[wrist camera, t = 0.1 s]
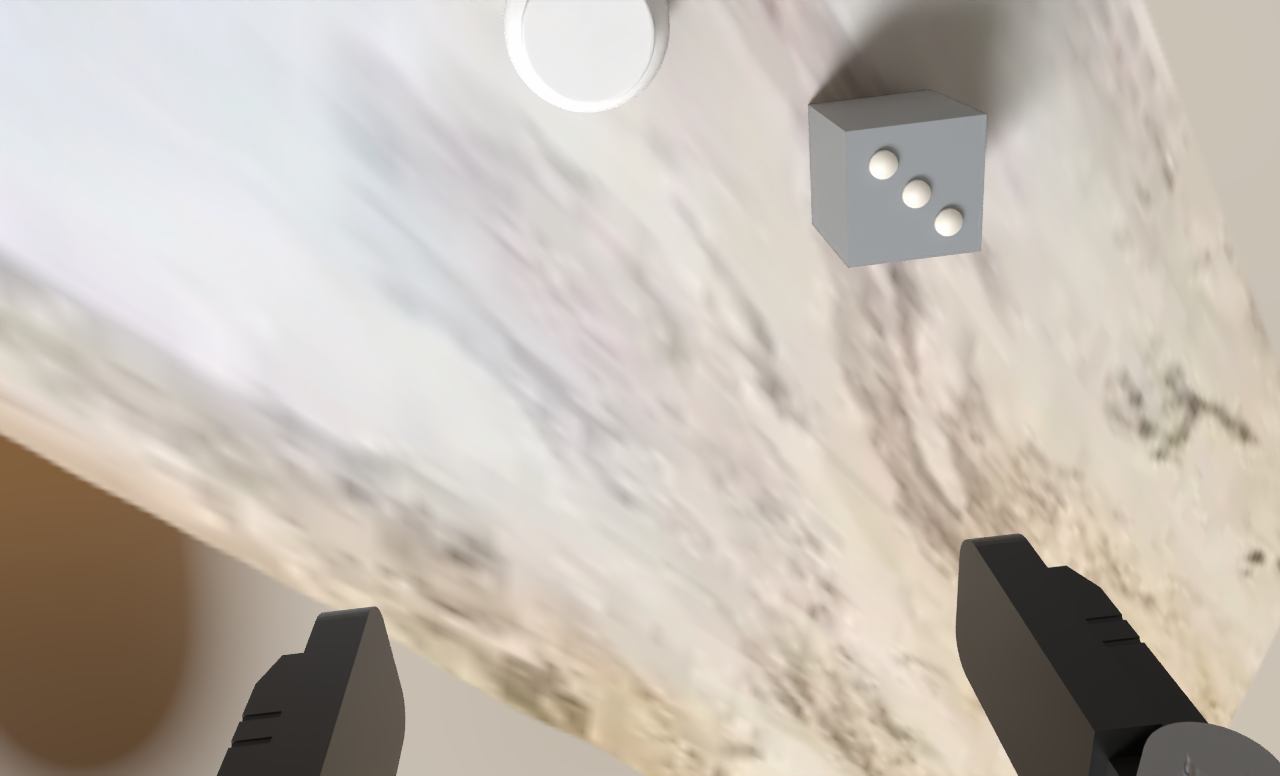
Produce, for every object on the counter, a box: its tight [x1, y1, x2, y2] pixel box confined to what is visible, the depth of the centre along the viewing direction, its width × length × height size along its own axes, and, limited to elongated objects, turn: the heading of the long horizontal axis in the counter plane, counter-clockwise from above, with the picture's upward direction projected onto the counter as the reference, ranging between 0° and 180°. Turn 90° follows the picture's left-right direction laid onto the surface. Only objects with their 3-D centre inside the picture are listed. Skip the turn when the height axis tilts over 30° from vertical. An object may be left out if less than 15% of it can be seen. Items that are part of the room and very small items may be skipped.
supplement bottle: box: [503, 0, 670, 113], centre depth 33 cm, size 5×5×10 cm
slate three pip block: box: [808, 90, 987, 268], centre depth 38 cm, size 5×5×6 cm
